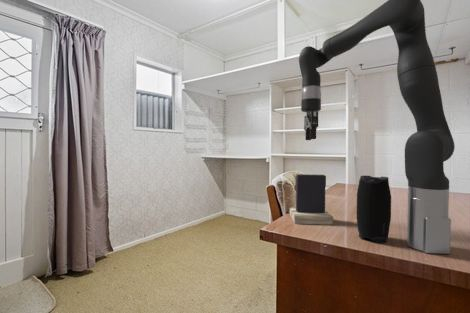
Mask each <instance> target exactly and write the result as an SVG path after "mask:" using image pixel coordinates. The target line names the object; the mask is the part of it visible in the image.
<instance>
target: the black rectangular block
mask: <svg viewBox="0 0 470 313" xmlns="http://www.w3.org/2000/svg"><path fill="white" fill-rule="evenodd" d="M326 186H327V176H326V174H305V173H304V174H301V173H300V174H296V175H295V208H296V211H297V212H301V213H325V210H326Z"/></svg>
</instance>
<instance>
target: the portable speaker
mask: <svg viewBox="0 0 470 313" xmlns="http://www.w3.org/2000/svg"><path fill="white" fill-rule="evenodd" d="M356 192H357V193H356V223H357V230H358V237H359V238H360V239H361V240H364V239H369V240H371V241H373V242H374V243H376V244H385V243H386V242H387V239H388V238H389V232H390V227H391V220H392V195H391V194H392V193H391V188H390V182H389V176H380V177H379V176H378V177H377V176H371V175H360V178H359V180H358V186H357V191H356Z"/></svg>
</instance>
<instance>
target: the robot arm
mask: <svg viewBox="0 0 470 313" xmlns="http://www.w3.org/2000/svg"><path fill="white" fill-rule="evenodd" d="M425 18H426V16H425V8H424V4H423V2H422V1H421V0H387V1H385V2H384V3H382V4H380V6H378V7H377V8H376V9H374V10H373V11H372V12H370V13H369V14H368V15H366V16H364V17H363V18H362V19H360V20H359V21H357V22H356V23H354V24H352V25H351V26H349V27H348V28H346V29H343V30H342V31H341V32H339V33H337V34H335V35H333V36H330V37H329V38H327V39H326V40H324V42H323V43H322V48H319V49H317V48H315V47H313V46H309V45H307V46H305V47H304V48H302V49H301V51H300V53H299V57H298V63H299V69H300V70H299V71H300V75H301V78H302V80H301V84H302V85H301V96H300V97H301V100H300V101H301V103H300V106H301V107H300V108H301V112H302V113H306V115H304V116H303V117H304V120H303V121H304V125H303V130H304V131H305V140H306V141H311V140H316V139H317V129H318V128H319V112H320V111H321V110H322V92H321V82H322V81H321V74H320V72H318V70H317V69H319V68H321V67H322V66H324V65H325V64H327V63H329V62H330V61H331V60H332V59H333V58H336V57H338V56H340V55H342V54H344V53H347V52H348V51H350V50H352V49H353V48H355V47H356V46H357V45H358V44H359V43H360V42H361V41H363V40H364V39H365V38H366V37H367V36H369V35H371V34H373V33H374V32H376V31H378V30H380V29H383V28H385V27H390V29H391V30H392V33H393V34H394V37H395V38H394V39H395V40H396V44H397V48H398V56H397V57H398V58H397V67H396V68H397V69H396V75H397V80H398V86H399V90H400V94H401V97H402V98H403V101H404V102H405V104H406V106H407V107H408V108H409V111H410V112H411V114H412V116H413V119H414V121H415V125H416V132H414V133H412V134H411V135H410V136H409V137H408V139H407V140H406V142H405V146H404V173H405V176H406V179H407V215H406V216H407V217H406V218H407V219H406V225H407V226H406V244H407V246H408V247H410V248H412V249H414V250H418V251H419V252H420V251H422V252H424V253H425V254H445V255H446V254H447V255H451V240H452V238H451V232H452V230H451V228H452V220H451V218H450V217H449V210H450V209H449V207H450V206H449V205H450V204H449V203H450V180H449V178H448V177H447V175H446V173H445V171H444V170H445V169H444V168H445V167H444V162H446V161H448V160H449V159H451V157H452V156H453V154H454V153H455V148H456V147H455V141H454V138H453V135H452V132H451V130H450V127H449V124H448V121H447V118H446V115H445V112H444V107H443V99H442V94H441V93H442V92H441V89H440V88H441V87H440V84H439V83H440V82H439V75H438V72H437V68H436V64H435V60H434V57H433V54H432V51H431V48H430V44H429V43H428V39H427V33H426V20H425Z"/></svg>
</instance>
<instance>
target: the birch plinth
mask: <svg viewBox="0 0 470 313" xmlns="http://www.w3.org/2000/svg"><path fill="white" fill-rule="evenodd" d="M289 216H290V218H291V220H292V221H293V223H294V224H295V225H296V224H298V225H323V226H325V225H326V226H327V225H329V226H330V225H332V226H333V225H334V222H333V221H334V216H333V215H331V214H330V213H329V212H328V211H327V210H326V209H325V213H301V212H297V211H296V207H292V206H291V207H289Z"/></svg>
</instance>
